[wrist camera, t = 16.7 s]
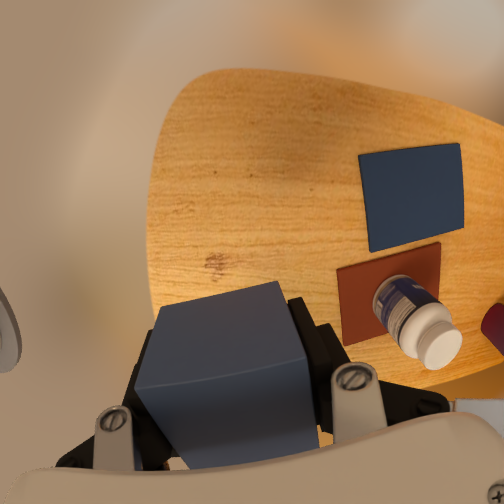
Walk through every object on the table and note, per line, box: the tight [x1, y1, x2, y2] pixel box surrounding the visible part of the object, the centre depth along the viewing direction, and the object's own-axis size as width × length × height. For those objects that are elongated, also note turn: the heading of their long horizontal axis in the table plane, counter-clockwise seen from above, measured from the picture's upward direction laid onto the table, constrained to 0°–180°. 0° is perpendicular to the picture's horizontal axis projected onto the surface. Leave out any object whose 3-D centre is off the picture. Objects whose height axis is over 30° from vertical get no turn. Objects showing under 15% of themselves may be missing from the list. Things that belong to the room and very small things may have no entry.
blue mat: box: [358, 143, 464, 253], centre depth 26 cm, size 12×9×1 cm
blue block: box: [134, 281, 320, 469], centre depth 10 cm, size 4×4×4 cm
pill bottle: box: [373, 275, 462, 370], centre depth 24 cm, size 5×5×10 cm
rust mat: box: [336, 242, 441, 346], centre depth 29 cm, size 12×9×1 cm
